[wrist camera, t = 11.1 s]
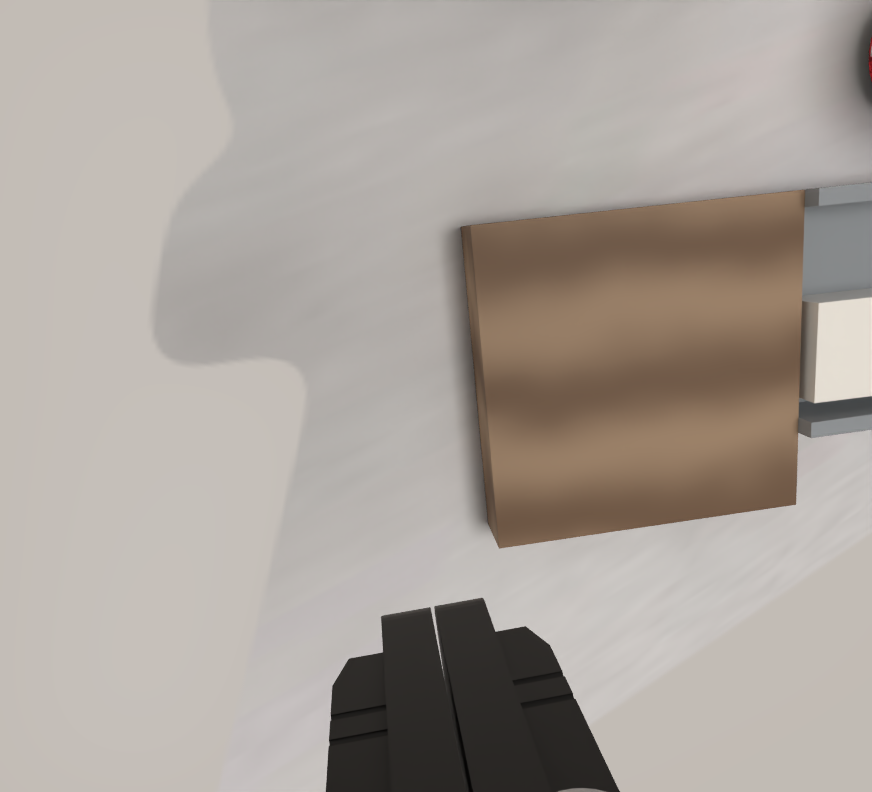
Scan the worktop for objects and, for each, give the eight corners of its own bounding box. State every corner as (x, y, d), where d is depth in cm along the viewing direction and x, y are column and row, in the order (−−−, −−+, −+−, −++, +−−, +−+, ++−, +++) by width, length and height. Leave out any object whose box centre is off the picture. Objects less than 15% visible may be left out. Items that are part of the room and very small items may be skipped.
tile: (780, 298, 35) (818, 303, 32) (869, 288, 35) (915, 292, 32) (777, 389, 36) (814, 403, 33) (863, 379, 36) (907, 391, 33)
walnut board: (460, 226, 33) (470, 225, 30) (767, 194, 34) (805, 189, 31) (488, 523, 36) (499, 548, 33) (762, 484, 38) (795, 504, 35)
